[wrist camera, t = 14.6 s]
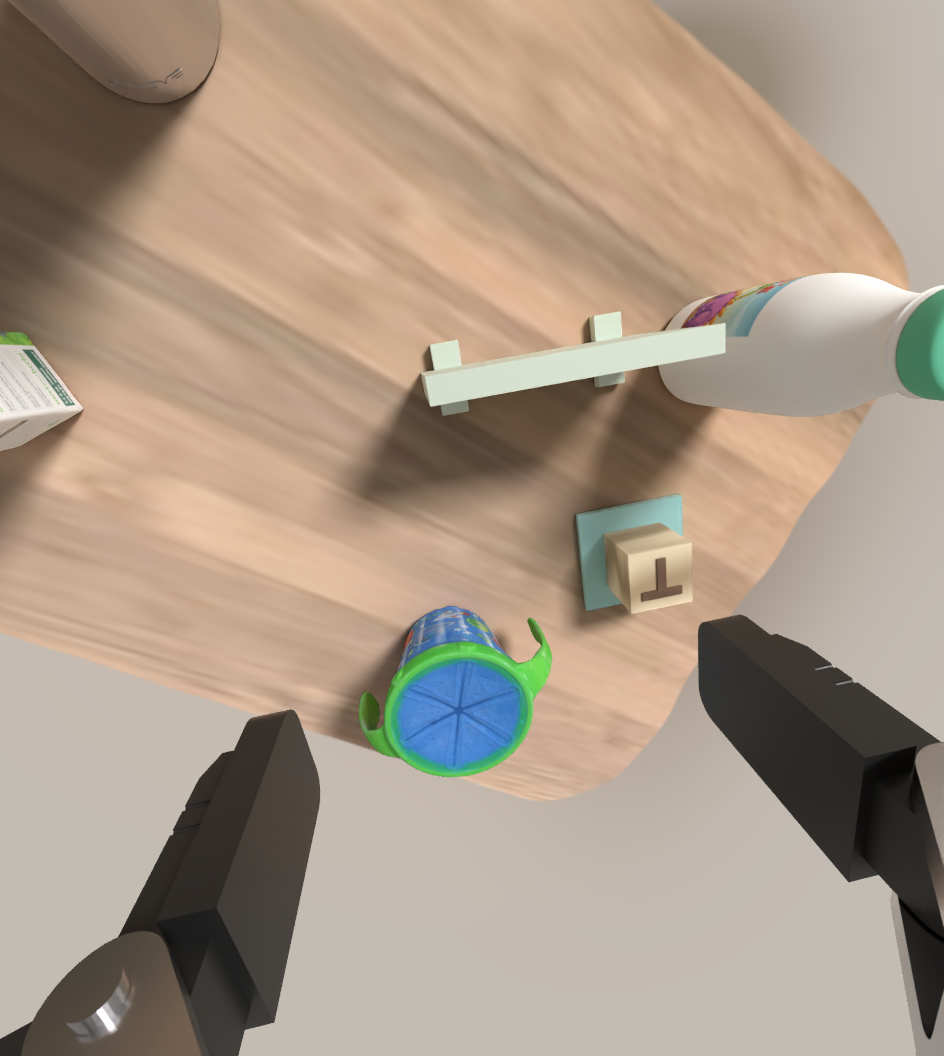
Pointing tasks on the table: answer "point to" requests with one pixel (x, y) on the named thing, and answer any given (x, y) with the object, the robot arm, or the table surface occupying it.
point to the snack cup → (456, 697)
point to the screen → (564, 362)
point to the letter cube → (648, 567)
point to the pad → (610, 521)
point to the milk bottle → (814, 346)
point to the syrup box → (29, 392)
